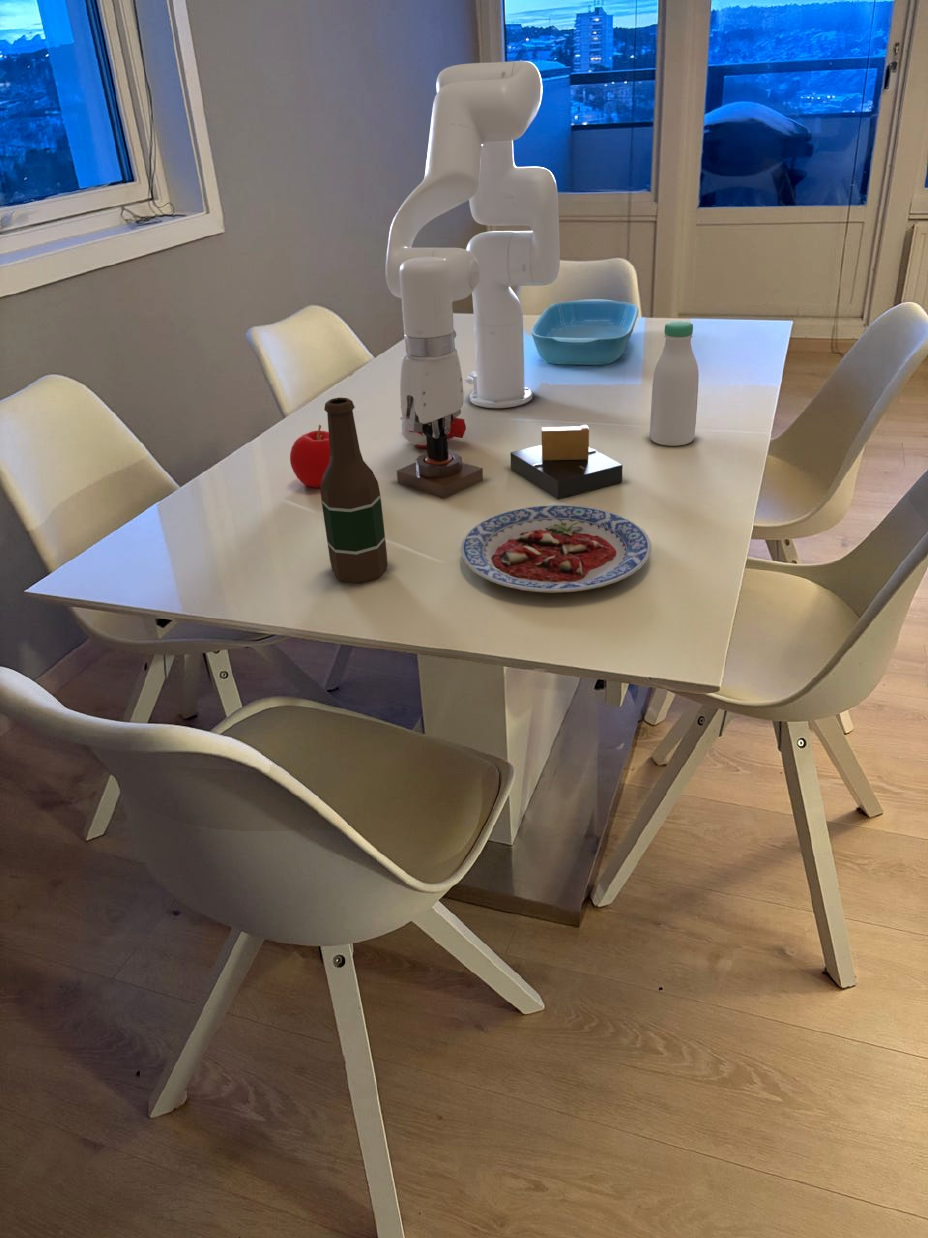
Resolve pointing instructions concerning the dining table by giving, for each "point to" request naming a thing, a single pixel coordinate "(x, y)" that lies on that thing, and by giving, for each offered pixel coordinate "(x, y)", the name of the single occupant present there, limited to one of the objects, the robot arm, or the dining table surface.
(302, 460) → the fruit
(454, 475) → the button block
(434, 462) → the button
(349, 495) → the beer bottle
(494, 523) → the ceramic plate
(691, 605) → the dining table surface
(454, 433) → the white and red skull
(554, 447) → the tap lever
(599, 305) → the casserole dish
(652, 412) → the milk bottle
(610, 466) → the plate
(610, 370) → the dining table surface
